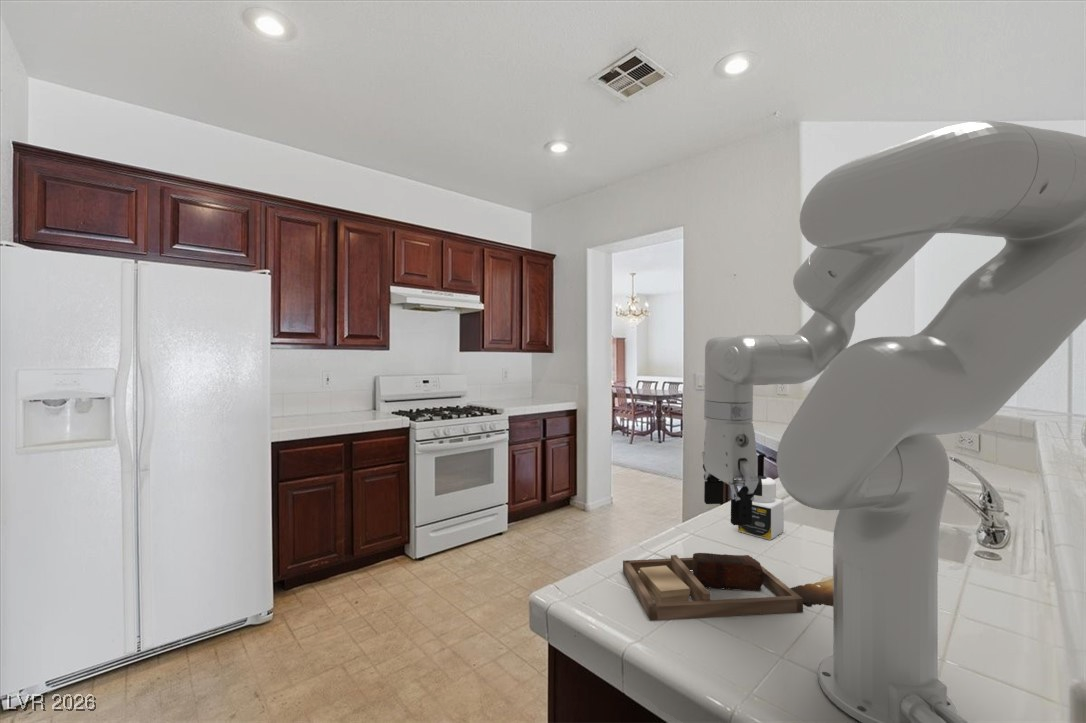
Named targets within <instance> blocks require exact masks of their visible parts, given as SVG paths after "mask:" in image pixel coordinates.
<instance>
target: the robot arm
mask: <svg viewBox="0 0 1086 723" xmlns="http://www.w3.org/2000/svg"><path fill="white" fill-rule="evenodd" d="M801 206H802V207H801V210H800V212H799V226H800V231H801V233H802V236H803V237H804V238H805V240H806V241H808V243H810V244H811V245H813V246H815V248H814V250H812V253H810V254H809V255H808V257H807V258H806V259H805V260H804V262H803V263H802V264H801V265H800V266H799V267H798V269H797V270H796V272H795V273H794V275H793V280H792V282H793V283H792V284H793V288H794V289H793V290H795V293H796V295H797V296H798V297H799V299H801V301H802V302H803V303H804V304H805V305H806V306H807V307H808V308H810V309H811V310H812V311H813V314H812V315H811V316H810V318H809V319H808V320H807V321H806V322H805V323H804V325H803V326H802V327H800V329H799V330H798V331H796V332H795V333H793V335H792V334H746V335H738V336H725V337H721V336H720V337H711V338H710V339H708V340H707V341H706V342H705V346H704V347H705V348H704V399H703V400H704V403H703V404H704V405H703V406H704V409H703V410H704V411H703V412H704V414H703V416H704V417H703V419H704V421H705V422H706V423H705V430H704V441H703V442H704V443H703V451H702V453H701V456H702V462H703V464H702V468H703V470H704V471H703V472H704V473H703V480H704V485H703V486H704V489H703V490H704V491H703V492H704V494H703V495H704V497H703V499H704V500H703V502H704V504H706V505H722V504H724V503H723V502H724V483H725V484H726V485H729V487H730V490H731V493H732V497H733V498H731V499H730V523H731V525H733V526H738V525H750V524H751V523H752V501H753V500H754V495H755V493H756V487H757V484H758V477H757V476H758V461H757V457H758V456H757V444H756V435H755V428H754V424H753V419H754V417H753V414H754V412H753V411H754V410H753V409H754V407H753V405H754V386H770V385H797V384H798V385H799V384H804V383H806V382H808V381H810V380H812V379H814V378H815V377H817V376H818V375H819V377H818V378H817V380H816V381H815V383H814V384H813V386H812V387H811V389H810V391H809V392H808V394H807V395H806V397H805V399H804V400H803V402H802V403H801V405H800V406H799V408H798V409H797V411H796V413H795V415H794V416H793V417H792V418H791V421H790V422H789V424H788V425H787V427H786V428H785V430H784V433H783V434H782V436H781V439H780V441H779V444H778V447H777V451H776V462H775V463H776V471H777V475H778V479H779V482H780V483H781V485H782V487H783V489H784V490H785V492H786V493H787V494H788V496H790V497H791V498H793V499H794V500H795V501H796V502H798V503H799V504H801V505H803V506H806V507H808V508H811V509H815V510H819V511H838V512H837V516H836V519H835V522H834V523H835V524H834V529H833V542H832V543H833V546H832V548H833V550H832V560H833V561H832V572H833V573H832V576H833V606H832V608H833V610H832V613H833V614H832V616H833V618H832V620H833V624H832V625H833V626H832V627H833V635H832V636H833V637H832V638H833V639H832V640H833V642H832V643H833V644H832V645H833V650H832V651H833V655H830V656H828V657H826V658H824V659H823V660H822V661H821V662H820V663H819V665H818V667H817V668H818V670H817V672H818V673H817V674H818V675H817V676H818V678H817V679H818V682H819V685H820V688H821V689H822V691H823V693H824V694H825V695H826V696H827V698H828V699H829V700H830V701H831V702H832V703H833V704H834V705H835V706H836V707H838V708H839V709H840V710H841V711H842V712H844V713H845V714H847V715H848V716H849V717H852V718H853V719H855V720H857V721H859V723H969V722H968V721H967V720H965V719H964V718H963V717H962V716H960V715H959V714H958V712H957V708H956V706H955V704H954V703H953V701H952V699H950V697H949V696H948V691H947V689H948V687H947V685H946V684H945V683H944V682H941V681H940V680H939V679H938V678H939V677H938V676H939V674H938V672H939V669H938V668H939V667H938V664H939V661H938V660H939V658H938V656H939V655H938V654H939V652H938V650H939V648H938V645H939V644H938V643H939V642H938V640H939V639H938V638H939V636H938V635H939V633H938V632H939V631H938V630H939V629H938V627H939V625H938V620H939V619H938V618H939V617H938V616H939V615H938V614H939V613H938V609H939V608H938V606H939V605H938V603H939V601H938V591H939V589H938V585H939V584H938V578H939V577H938V573H939V539H940V527H941V526H940V524H941V518H942V513H943V508H944V503H945V501H946V500H945V499H946V496H947V491H948V486H949V479H950V462H949V457H948V453H947V452H946V448H945V447H944V445H943V443H942V441H941V440H940V439H939V438H938V436H941V435H950V434H957V433H963V432H968V431H971V430H974V429H977V428H978V427H980V426H982V425H984V424H986V423H987V422H988V421H989V420H991V419H992V418H993V417H994V416H995V415H996V414H997V413H998V412H999V411H1000V410H1001V409H1002V408H1003V406H1005V404H1006V403H1007V402H1008V401H1010V399H1011V398H1012V397H1013V396H1014V395H1015V394H1016V393H1017V392H1018V391H1019V390H1020V389H1021V388H1022V387H1023V386H1024V385H1025V384H1026V382H1028V380H1029V379H1031V377H1032V376H1033V375H1034V374H1035V373H1036V372H1037V371H1038V370H1039V369H1040V368H1041V367H1042V366H1043V365H1044V364H1045V363H1046V362H1047V361H1048V360H1049V359H1050V358H1051V357H1052V356H1053V354H1054V353H1055V352H1056V351H1057V350H1058V349H1059V348H1060V347H1061V345H1062V344H1064V342H1065V341H1066V340H1067V339H1068V338H1069V337H1070V336H1071V335H1072V333H1074V331H1075V330H1076V329H1078V327H1079V326H1081V325H1082V324H1083V322H1084V321H1085V320H1086V136H1084V135H1080V134H1074V133H1070V132H1065V131H1060V130H1055V129H1045V128H1038V127H1033V126H1027V125H1022V124H1017V123H1012V122H1005V121H995V120H975V121H966V122H958V123H956V124H952V125H951V124H950V125H947V126H945V127H942V128H939V129H935V130H933V131H929V132H927V133H925V134H922V135H919V136H918V135H917V136H916V137H913V138H911V139H908V140H906V141H902V142H900V143H897V144H894V145H892V146H889V147H885V148H883V149H881V150H878V151H875V152H873V153H869V154H867V155H864V156H862V157H861V156H860V157H859V158H856V159H854V160H851V161H848V162H846V163H844V164H842V165H840V166H838V167H836V168H834V169H832V170H831V171H830V172H828V173H827V174H826V175H824V176H823V177H822V178H821V179H820V180H818V181H817V182H816V184H815V185H814V186H813V187H812V188H811V189H810V191H809V192H808V194H807V195H806V197H805V199H804V201H803V203H802V205H801ZM936 234H960V235H961V234H962V235H969V236H971V235H972V236H982V237H996V238H997V237H998V238H1004V240H1005V245H1004V246H1003V248H1001V250H1000V251H999V252H998V253H997V254H996V255H995V256H994V257H992V258H991V259H989V260H988V261H987V262H985V263H984V264H983V265H981V266H980V267H979V268H977V269H976V270H975V271H974V272H972V273H971V274H970V275H969V276H967V278H966V279H964V281H962V282H961V283H960V284H959V285H958V287H956V289H955V290H954V291H953V292H952V293H951V295H950V296H949V298H948V299H947V300H946V303H945V304H944V306H943V307H942V308H941V309H940V311H939V312H937V314H936V315H935V317H934V318H933V319H932V320H931V321H930V322H929V323H928V324H927V326H925V327H924V329H922V330H921V331H920V332H918V333H916V334H913V335H910V336H905V335H904V336H902V335H901V336H880V337H877V336H876V337H871V338H867V339H864V340H861V341H857V342H855V343H853V344H851V345H850V346H849V344H850V342H851V339H852V336H853V333H854V330H855V326H856V312H857V311H858V310H859V309H860V308H861V307H862V306H863V305H864V304H865V303H866V302H867V301H868V300H869V299H870V298H871V297H872V296H874V295H875V293H876V292H878V290H879V289H881V287H882V286H883V285H884V284H886V283H887V282H888V281H889V280H890V279H891V278H892V277H893V276H894V275H895V274H896V273H897V272H898V271H899V270H900V269H901V268H902V267H904V266H905V265H906V264H907V262H908V261H909V260H911V259H912V258H913V257H915V256H914V255H916V254H917V253H918V252H919V251H920V250H921V249H922V248H924V246H925V245H927V243H928V242H930V240H931V239H932V238H933V237H934V236H935V235H936ZM739 487H741V488H740V490H739Z"/></svg>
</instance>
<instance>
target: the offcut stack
mask: <svg viewBox="0 0 1086 723" xmlns="http://www.w3.org/2000/svg"><path fill="white" fill-rule="evenodd" d="M637 575H638V577H639V578H640V580H641V581H642V583H643V585H644V586H645V588H646V589H647V591H648V593H649V594H650V596H651V597H652V599H653V601H654V602H655V603H666V602H685V601H691V599H689V597H690V596H689V595H690V588H689V587H688V586H687V585H686V584H685V583H684V582H683V581H682V580H681V579H680V578H679V577H678V576H676V575H675V574H674V573H673V572H672V571H671V570H670V569H669V568H668V567H667V566H666V565H665V566H655V567H644V568H640V571H638V574H637Z"/></svg>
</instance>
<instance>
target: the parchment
mask: <svg viewBox="0 0 1086 723" xmlns="http://www.w3.org/2000/svg"><path fill="white" fill-rule="evenodd" d="M789 588H790V589H791V590H793V591H794V592H795V593H796V594H798V595H799V596H800V597H801V598H803V604H804V605H806V606H807V607H809V608H810V607H811V608H812V607H813V606H816V605H818V606H822V605H824V606H828V607H833V575H830V576H825V577H823V576H822V578H821V579H820V581H818V582H814V583H806V584H804V585H802V584H801V585H797V586H794V587H793V586H792V587H789Z"/></svg>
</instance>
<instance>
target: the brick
mask: <svg viewBox="0 0 1086 723" xmlns="http://www.w3.org/2000/svg"><path fill="white" fill-rule="evenodd" d="M745 555H746V554H745ZM745 555H744V554H743V555H742V554H737V555H736V554H726V553H725V554H718V553H709V552H708V553H707V552H695V553H693V554H692V558H693V571H692V573H693V575H694V576H695V577H696V578H697V579H698V580H699V581H700V582H701V584H702V585H703V586H704V587H705V588H706V587H707V588H706V589H715V588H724V589H723V590H732V589H741V590H740V591H757V592H758V591H760V590H761V588H762V585H763V574H764V573H763V570H762V567H761V566H762V564H761V563H760V561H758V560H757V559H755V558H754V557H752V556H750V555H749V556H745ZM709 587H711V588H709Z"/></svg>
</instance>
